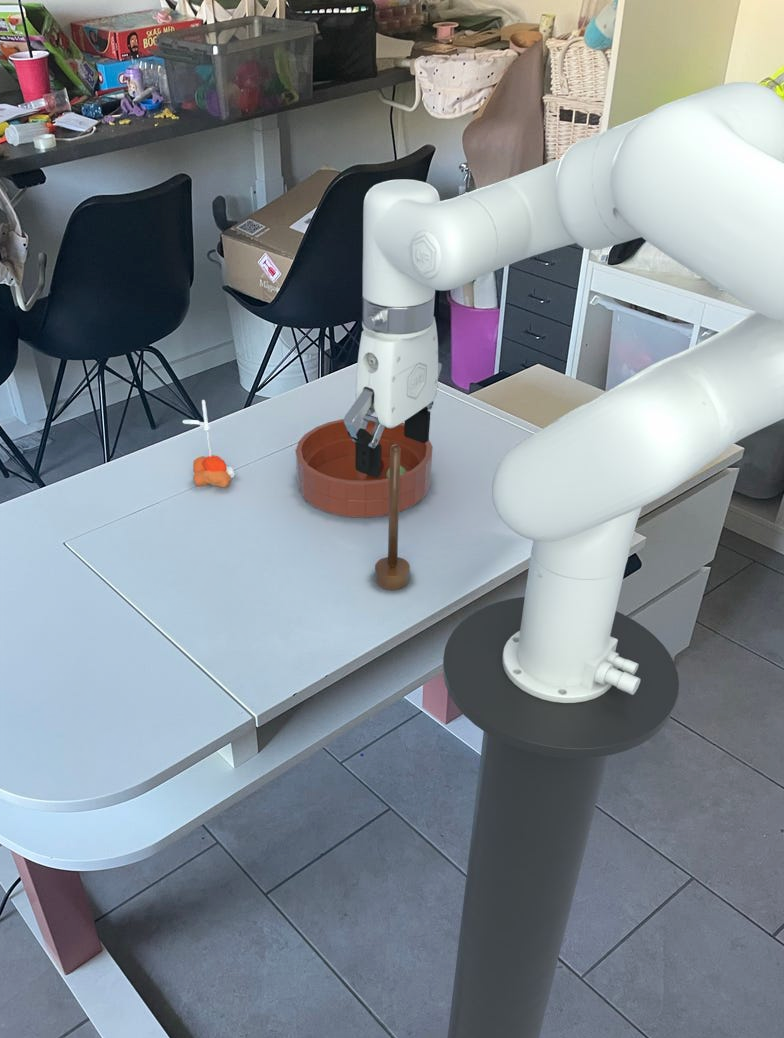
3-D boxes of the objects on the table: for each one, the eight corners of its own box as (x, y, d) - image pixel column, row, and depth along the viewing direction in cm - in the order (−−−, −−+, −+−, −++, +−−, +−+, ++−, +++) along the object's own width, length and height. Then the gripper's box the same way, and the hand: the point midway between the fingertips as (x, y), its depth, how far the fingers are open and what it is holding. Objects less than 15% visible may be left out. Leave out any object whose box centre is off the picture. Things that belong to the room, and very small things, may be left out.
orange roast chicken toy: (209, 460, 147) (201, 388, 139) (244, 484, 141) (237, 410, 133) (177, 473, 144) (166, 401, 136) (211, 498, 138) (202, 423, 130)
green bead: (410, 483, 138) (411, 465, 136) (399, 492, 136) (399, 473, 134) (394, 477, 139) (394, 459, 137) (382, 485, 138) (382, 467, 136)
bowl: (455, 476, 140) (458, 440, 136) (379, 536, 129) (379, 498, 125) (350, 440, 150) (350, 405, 146) (270, 493, 139) (268, 456, 135)
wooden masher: (415, 577, 121) (421, 442, 109) (396, 594, 119) (400, 458, 106) (387, 566, 123) (390, 432, 111) (368, 582, 121) (368, 447, 108)
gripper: (379, 348, 92) (375, 498, 103) (472, 293, 102) (459, 435, 113) (318, 330, 95) (321, 477, 107) (414, 279, 105) (407, 418, 116)
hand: (392, 455), depth 110 cm, fingers open, 9 cm apart
